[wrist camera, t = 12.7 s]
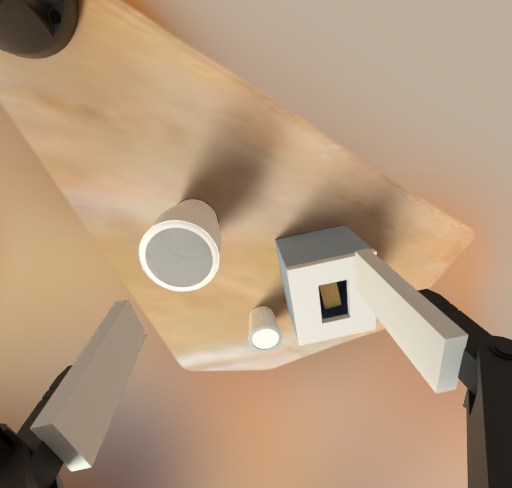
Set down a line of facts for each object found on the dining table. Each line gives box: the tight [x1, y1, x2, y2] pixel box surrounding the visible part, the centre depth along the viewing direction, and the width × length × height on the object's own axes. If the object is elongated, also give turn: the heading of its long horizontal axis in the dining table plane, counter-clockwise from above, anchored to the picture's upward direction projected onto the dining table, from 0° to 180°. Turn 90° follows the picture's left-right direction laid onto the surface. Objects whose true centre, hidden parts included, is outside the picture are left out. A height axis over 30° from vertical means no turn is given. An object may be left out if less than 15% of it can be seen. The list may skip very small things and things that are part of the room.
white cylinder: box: [248, 306, 282, 351], centre depth 54 cm, size 7×7×7 cm
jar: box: [139, 199, 221, 292], centre depth 40 cm, size 11×10×15 cm
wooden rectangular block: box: [318, 282, 341, 309], centre depth 48 cm, size 6×3×9 cm, turn 18°
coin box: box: [275, 225, 377, 346], centre depth 47 cm, size 16×14×12 cm
